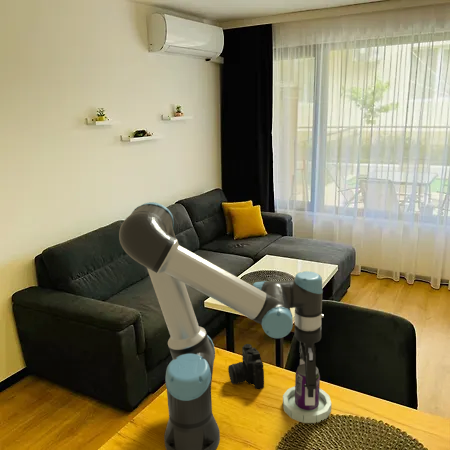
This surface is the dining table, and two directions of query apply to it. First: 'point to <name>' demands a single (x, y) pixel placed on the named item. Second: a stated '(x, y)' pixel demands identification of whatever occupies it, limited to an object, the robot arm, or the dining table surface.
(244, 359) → the camera
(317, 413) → the tray
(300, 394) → the beverage can
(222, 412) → the dining table surface
